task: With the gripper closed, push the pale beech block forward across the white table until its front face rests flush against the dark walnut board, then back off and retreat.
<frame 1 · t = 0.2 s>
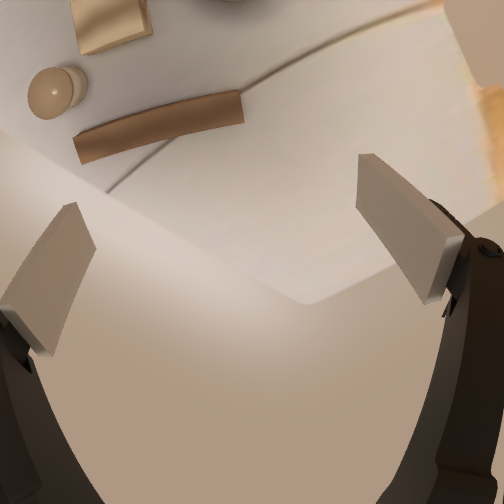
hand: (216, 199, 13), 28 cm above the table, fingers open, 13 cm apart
block: (118, 17, 26), on the table
board: (156, 121, 35), on the table
sugar pot: (68, 87, 30), on the table
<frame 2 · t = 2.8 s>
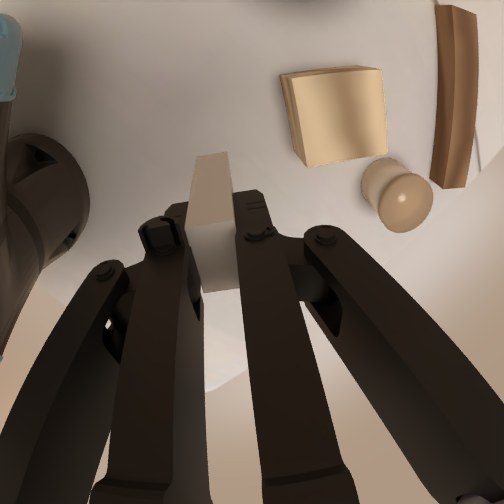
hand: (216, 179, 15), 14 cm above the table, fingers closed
block: (325, 106, 27), on the table
board: (449, 94, 25), on the table
sugar pot: (383, 181, 32), on the table
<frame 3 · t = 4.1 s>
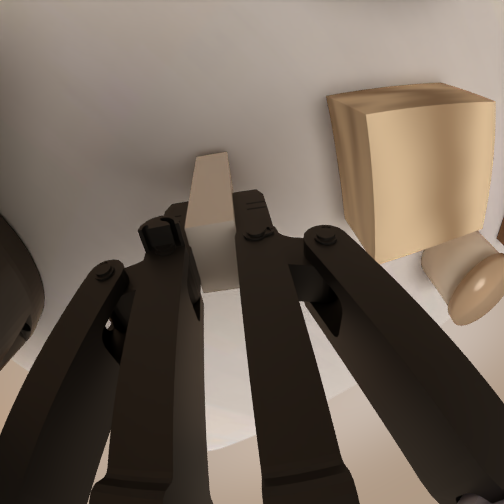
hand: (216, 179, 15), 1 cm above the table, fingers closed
block: (394, 148, 16), on the table
sugar pot: (448, 248, 22), on the table
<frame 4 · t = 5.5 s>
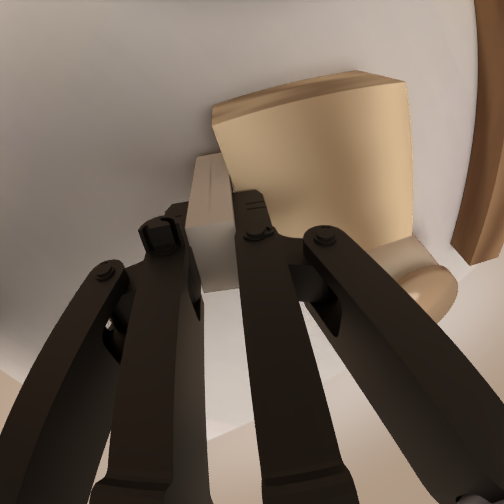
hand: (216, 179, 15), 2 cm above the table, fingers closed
block: (303, 150, 16), on the table, touching gripper
board: (491, 121, 15), on the table
sugar pot: (383, 257, 22), on the table
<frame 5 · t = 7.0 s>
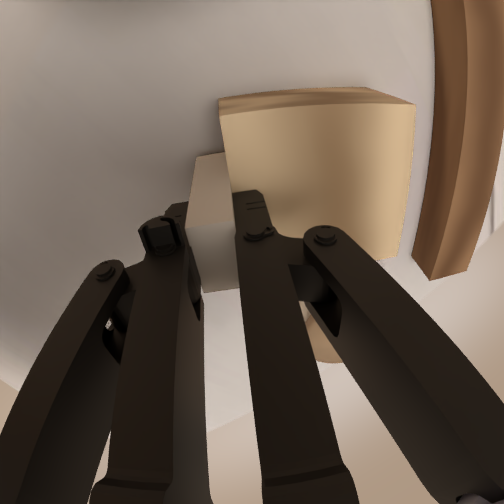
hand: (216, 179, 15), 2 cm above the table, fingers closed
block: (300, 157, 16), on the table
board: (454, 120, 15), on the table
sugar pot: (330, 271, 22), on the table
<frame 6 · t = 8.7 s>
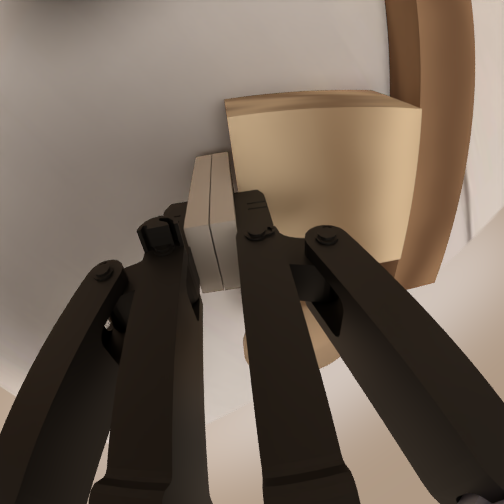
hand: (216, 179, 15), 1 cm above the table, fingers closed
block: (305, 159, 16), on the table, touching gripper
board: (416, 120, 15), on the table
sugar pot: (283, 281, 21), on the table
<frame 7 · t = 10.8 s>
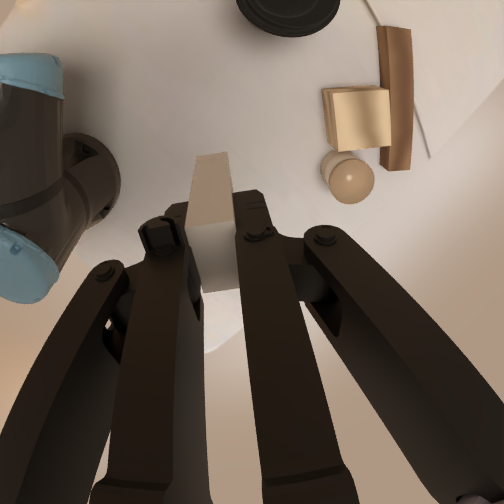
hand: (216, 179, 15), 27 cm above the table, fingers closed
block: (350, 112, 38), on the table
coffee cup: (268, 12, 29), on the table
board: (392, 97, 37), on the table
sugar pot: (339, 167, 43), on the table
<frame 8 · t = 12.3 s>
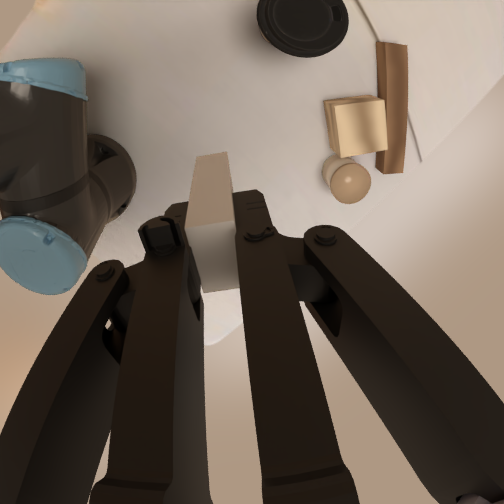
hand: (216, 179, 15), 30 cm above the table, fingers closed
block: (349, 120, 43), on the table
coffee cup: (278, 27, 33), on the table
board: (388, 106, 41), on the table
sugar pot: (338, 170, 48), on the table
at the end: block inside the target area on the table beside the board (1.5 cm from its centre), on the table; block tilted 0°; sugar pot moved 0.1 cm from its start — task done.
